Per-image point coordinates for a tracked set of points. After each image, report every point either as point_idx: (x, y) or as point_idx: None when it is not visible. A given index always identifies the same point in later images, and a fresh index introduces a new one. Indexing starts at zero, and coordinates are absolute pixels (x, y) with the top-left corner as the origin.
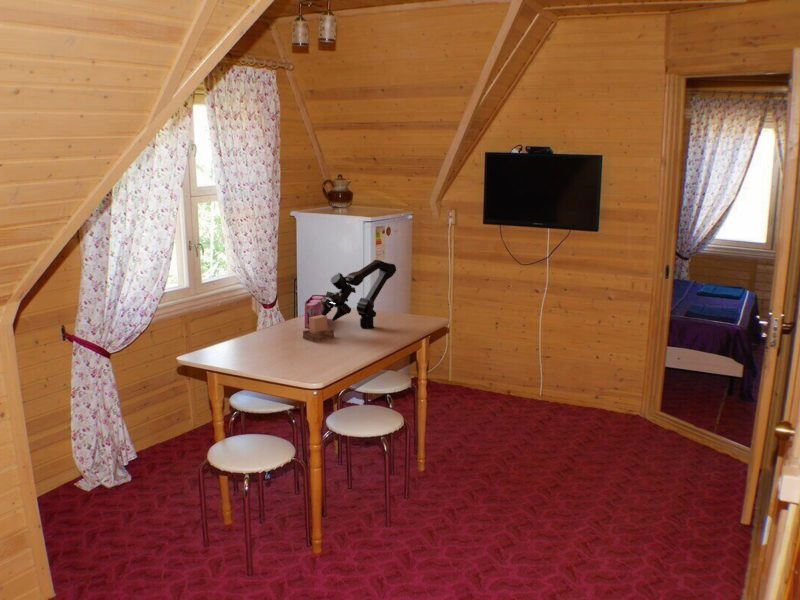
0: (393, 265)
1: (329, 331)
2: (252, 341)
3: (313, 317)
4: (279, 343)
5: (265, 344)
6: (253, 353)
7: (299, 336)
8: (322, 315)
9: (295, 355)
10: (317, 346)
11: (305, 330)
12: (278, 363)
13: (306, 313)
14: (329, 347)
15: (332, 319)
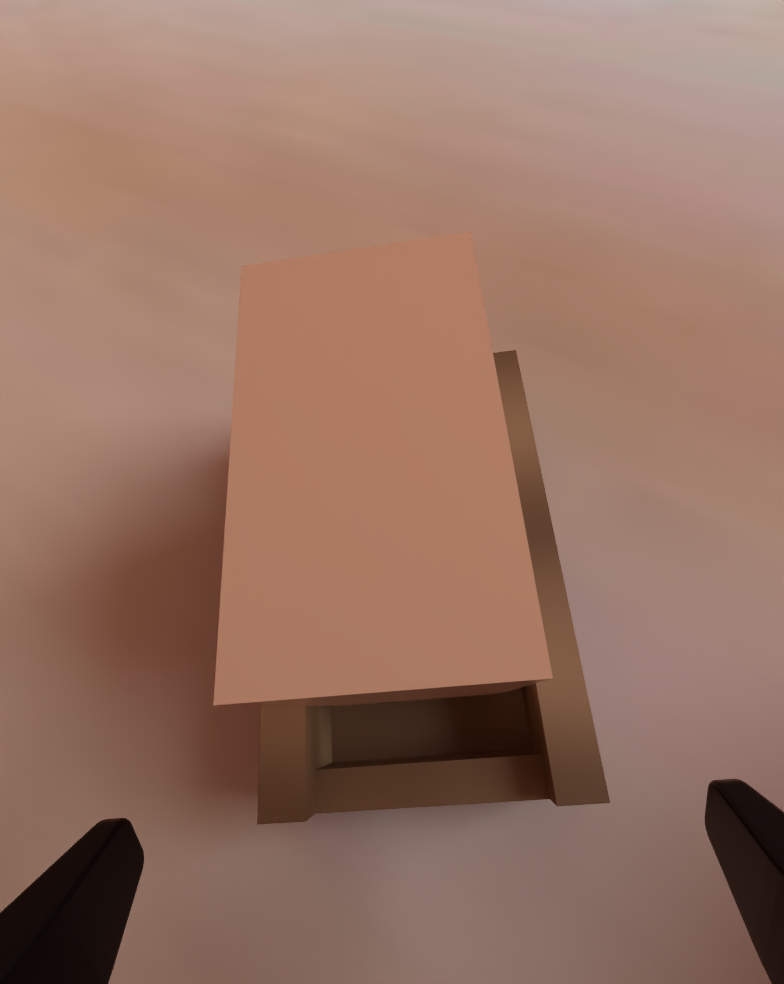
0: None
1: (267, 706)
2: (664, 50)
3: (382, 302)
4: (465, 179)
5: (506, 97)
6: (332, 6)
7: (627, 421)
8: (447, 644)
9: (77, 169)
10: (127, 394)
11: (514, 385)
12: (39, 59)
13: None
14: (2, 470)
15: (103, 830)
